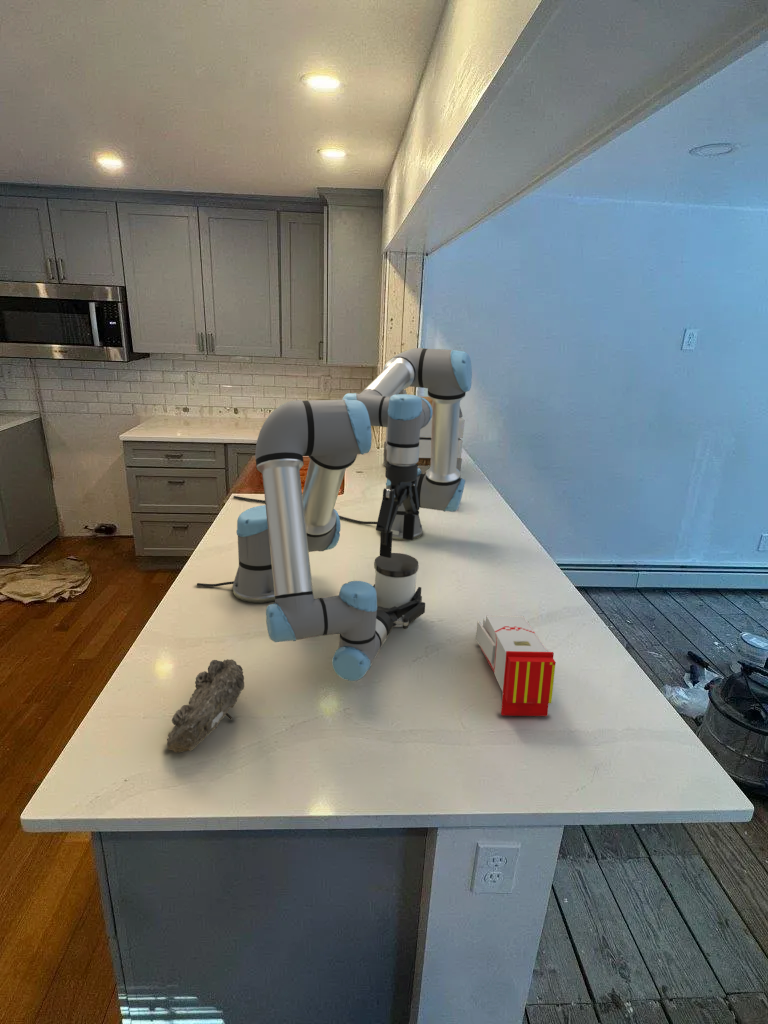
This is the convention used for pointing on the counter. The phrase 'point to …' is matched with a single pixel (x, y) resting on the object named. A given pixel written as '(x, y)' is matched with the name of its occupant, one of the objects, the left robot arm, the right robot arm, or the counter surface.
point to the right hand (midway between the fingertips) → (397, 547)
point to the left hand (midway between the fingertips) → (399, 587)
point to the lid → (396, 565)
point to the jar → (394, 590)
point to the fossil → (206, 705)
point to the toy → (518, 664)
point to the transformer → (426, 441)
